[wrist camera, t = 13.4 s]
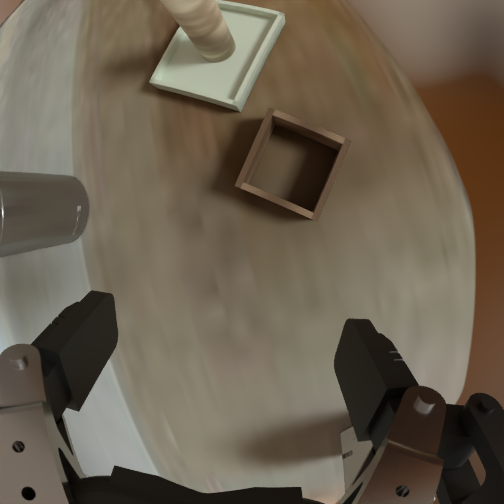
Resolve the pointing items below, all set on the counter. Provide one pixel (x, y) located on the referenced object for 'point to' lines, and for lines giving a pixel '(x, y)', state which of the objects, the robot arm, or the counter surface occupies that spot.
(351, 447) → the skincare box
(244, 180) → the box
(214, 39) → the dowel
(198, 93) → the tray
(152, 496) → the robot arm
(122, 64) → the counter surface
